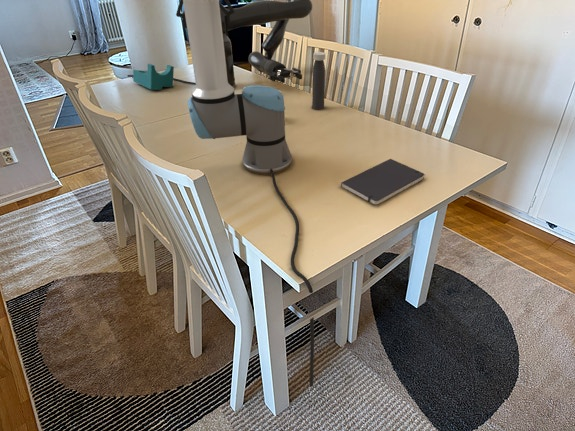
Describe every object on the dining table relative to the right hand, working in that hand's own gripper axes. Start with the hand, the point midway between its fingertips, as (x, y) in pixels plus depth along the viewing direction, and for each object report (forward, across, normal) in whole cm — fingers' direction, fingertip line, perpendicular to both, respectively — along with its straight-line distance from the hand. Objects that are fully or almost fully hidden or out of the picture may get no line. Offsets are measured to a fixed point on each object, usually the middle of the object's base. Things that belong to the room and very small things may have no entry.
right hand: (208, 36), depth 147 cm
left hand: (+22, -33, -12) cm, 41 cm away
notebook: (+28, -44, +69) cm, 86 cm away
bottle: (+28, -40, +7) cm, 49 cm away
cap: (+7, -40, +7) cm, 41 cm away
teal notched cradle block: (+28, +28, -40) cm, 56 cm away
